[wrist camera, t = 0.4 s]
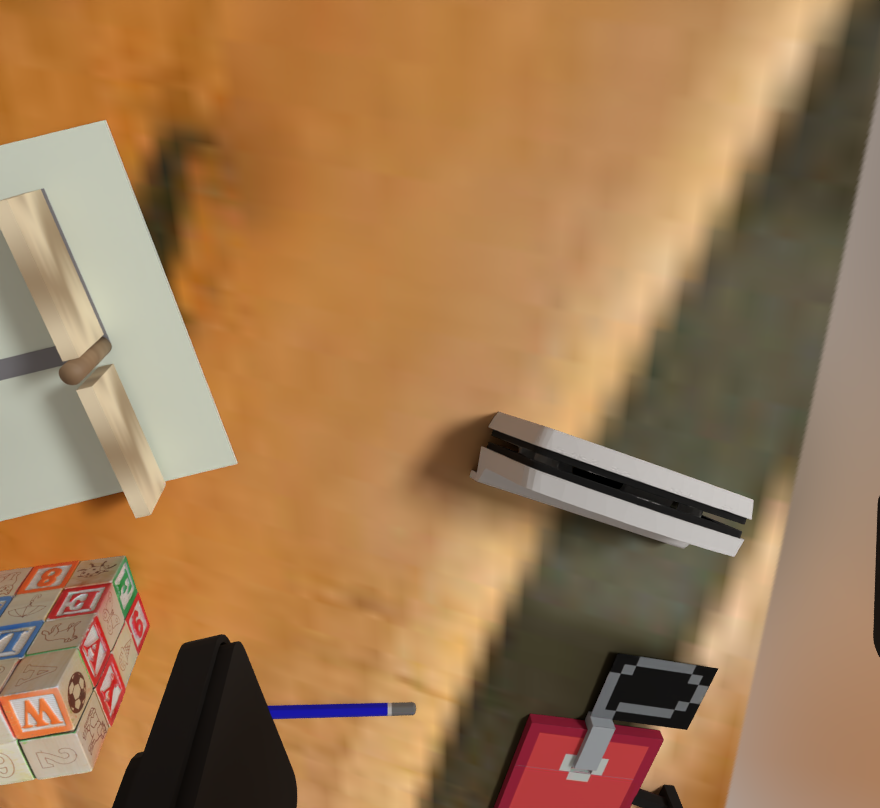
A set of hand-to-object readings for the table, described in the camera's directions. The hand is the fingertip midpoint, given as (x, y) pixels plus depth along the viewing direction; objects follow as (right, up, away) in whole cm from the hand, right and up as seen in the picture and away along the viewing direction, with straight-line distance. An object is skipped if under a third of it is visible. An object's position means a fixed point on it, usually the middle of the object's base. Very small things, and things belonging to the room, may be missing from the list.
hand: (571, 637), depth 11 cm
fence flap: (-21, +2, +34) cm, 40 cm away
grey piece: (+9, -1, +39) cm, 40 cm away
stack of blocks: (-33, -11, +39) cm, 52 cm away
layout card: (-26, +7, +32) cm, 42 cm away
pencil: (-12, -20, +45) cm, 51 cm away
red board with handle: (+11, -29, +52) cm, 61 cm away
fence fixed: (-23, +11, +31) cm, 40 cm away
